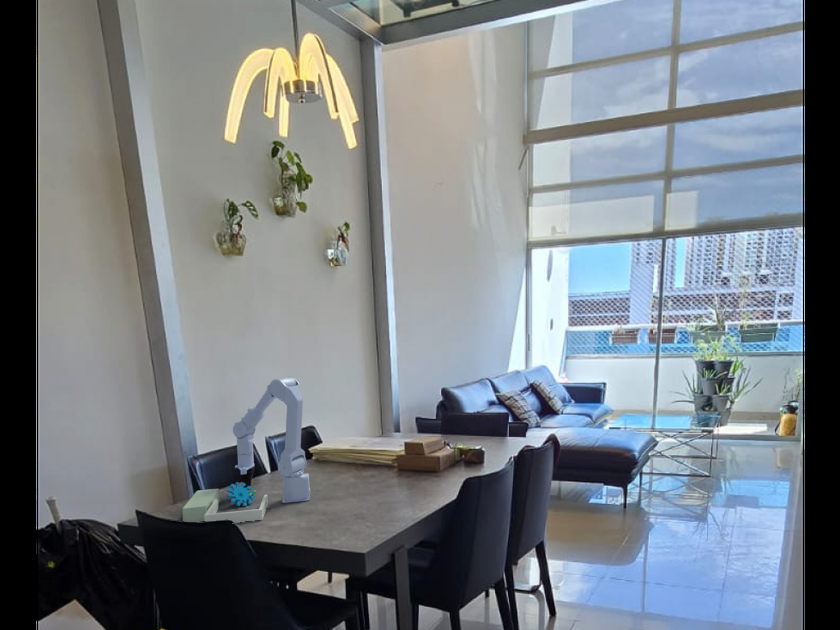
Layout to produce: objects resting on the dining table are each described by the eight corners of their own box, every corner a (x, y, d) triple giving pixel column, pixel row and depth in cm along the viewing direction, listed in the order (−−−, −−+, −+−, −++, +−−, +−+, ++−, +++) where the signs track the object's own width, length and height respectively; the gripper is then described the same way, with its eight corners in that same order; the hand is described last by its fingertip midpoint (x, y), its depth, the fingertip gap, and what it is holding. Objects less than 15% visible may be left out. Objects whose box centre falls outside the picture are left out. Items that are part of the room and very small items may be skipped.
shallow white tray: (268, 504, 210) (267, 494, 210) (262, 520, 192) (261, 509, 192) (215, 509, 207) (214, 499, 207) (204, 526, 189) (204, 515, 189)
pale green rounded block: (220, 502, 216) (219, 488, 216) (208, 521, 194) (207, 506, 194) (198, 504, 215) (197, 490, 215) (183, 523, 193) (182, 508, 193)
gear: (233, 506, 204) (225, 482, 210) (226, 516, 207) (218, 492, 213) (261, 502, 212) (253, 479, 218) (254, 512, 215) (246, 489, 221)
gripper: (237, 450, 230) (239, 485, 230) (231, 458, 215) (233, 495, 215) (256, 448, 231) (257, 483, 231) (251, 456, 217) (253, 493, 216)
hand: (247, 489), depth 223 cm, fingers closed
